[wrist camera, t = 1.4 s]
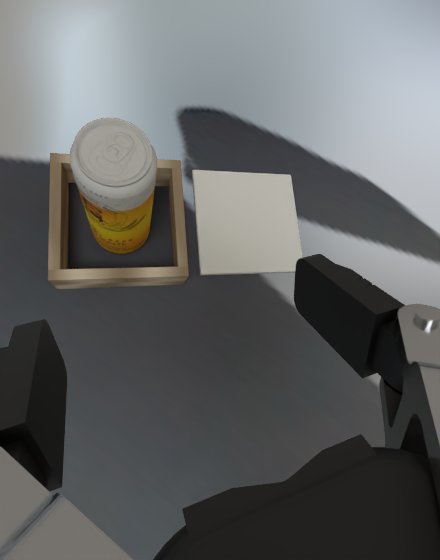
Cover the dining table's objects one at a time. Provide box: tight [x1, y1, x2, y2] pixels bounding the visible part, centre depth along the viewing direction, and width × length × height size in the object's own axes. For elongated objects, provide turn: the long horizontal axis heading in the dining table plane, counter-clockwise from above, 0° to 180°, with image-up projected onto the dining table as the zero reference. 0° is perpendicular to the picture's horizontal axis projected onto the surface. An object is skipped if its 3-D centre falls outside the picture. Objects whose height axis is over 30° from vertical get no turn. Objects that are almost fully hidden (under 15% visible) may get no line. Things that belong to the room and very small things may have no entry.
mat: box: [192, 170, 303, 275], centre depth 41 cm, size 13×13×1 cm
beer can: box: [70, 118, 157, 254], centre depth 30 cm, size 6×6×15 cm
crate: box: [48, 153, 189, 289], centre depth 36 cm, size 13×13×4 cm
